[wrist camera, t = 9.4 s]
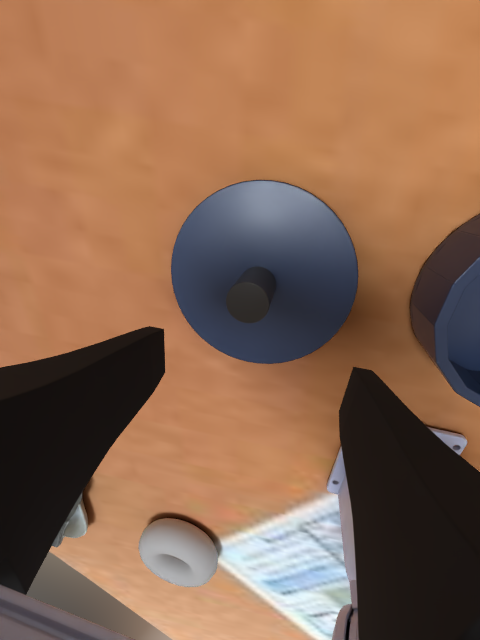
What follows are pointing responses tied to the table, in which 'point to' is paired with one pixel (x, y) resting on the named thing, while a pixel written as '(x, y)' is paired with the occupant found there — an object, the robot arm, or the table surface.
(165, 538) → the donut
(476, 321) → the pot
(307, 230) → the lid
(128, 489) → the table surface
